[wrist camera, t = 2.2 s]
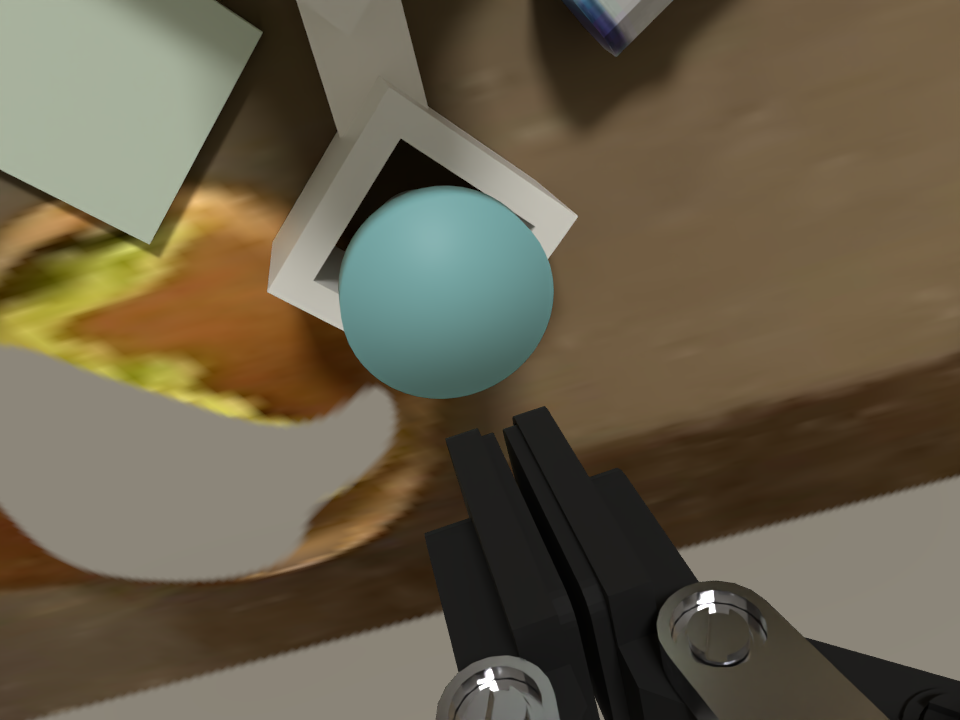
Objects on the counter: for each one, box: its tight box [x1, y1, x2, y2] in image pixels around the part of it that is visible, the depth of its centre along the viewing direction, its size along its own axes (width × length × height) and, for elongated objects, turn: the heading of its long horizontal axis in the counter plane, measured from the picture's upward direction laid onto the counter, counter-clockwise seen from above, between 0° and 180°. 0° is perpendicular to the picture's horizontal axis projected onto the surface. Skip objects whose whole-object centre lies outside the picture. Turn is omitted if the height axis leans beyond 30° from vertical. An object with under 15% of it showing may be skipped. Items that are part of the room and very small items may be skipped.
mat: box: [0, 0, 263, 245], centre depth 23 cm, size 8×8×1 cm
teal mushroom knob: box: [338, 186, 554, 399], centre depth 22 cm, size 6×6×6 cm
